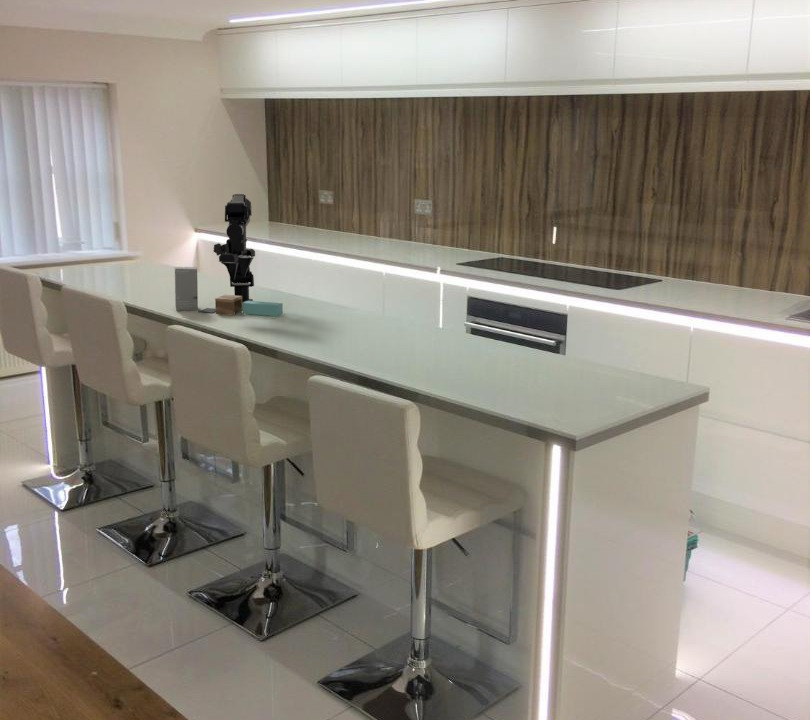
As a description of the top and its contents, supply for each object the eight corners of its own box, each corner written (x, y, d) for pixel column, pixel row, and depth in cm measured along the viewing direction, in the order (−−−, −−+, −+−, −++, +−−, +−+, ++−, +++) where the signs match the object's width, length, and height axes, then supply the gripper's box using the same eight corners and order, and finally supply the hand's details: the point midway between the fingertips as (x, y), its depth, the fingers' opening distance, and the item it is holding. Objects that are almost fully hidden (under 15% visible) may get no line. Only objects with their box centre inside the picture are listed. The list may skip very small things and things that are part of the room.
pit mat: (207, 308, 339) (207, 307, 339) (221, 309, 338) (221, 309, 338) (198, 312, 333) (198, 311, 333) (212, 313, 331) (212, 312, 331)
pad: (252, 311, 335) (252, 311, 335) (284, 314, 331) (284, 313, 331) (243, 316, 327) (243, 315, 327) (276, 318, 324) (276, 318, 324)
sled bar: (247, 311, 333) (247, 300, 332) (282, 313, 330) (282, 303, 329) (242, 313, 329) (242, 302, 328) (277, 316, 326) (277, 305, 325)
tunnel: (225, 309, 338) (225, 294, 336) (242, 311, 336) (242, 295, 334) (215, 313, 330) (215, 298, 329) (233, 315, 328) (232, 299, 327)
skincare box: (176, 311, 334) (173, 268, 330) (175, 307, 341) (173, 266, 337) (199, 310, 336) (197, 268, 332) (198, 306, 343) (196, 265, 339)
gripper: (228, 232, 342) (229, 273, 346) (205, 238, 325) (206, 280, 329) (255, 234, 339) (256, 275, 343) (233, 239, 322) (234, 282, 326)
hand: (238, 278), depth 335 cm, fingers open, 9 cm apart
